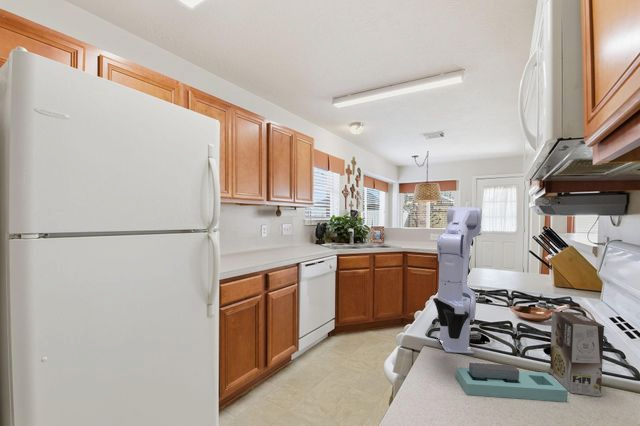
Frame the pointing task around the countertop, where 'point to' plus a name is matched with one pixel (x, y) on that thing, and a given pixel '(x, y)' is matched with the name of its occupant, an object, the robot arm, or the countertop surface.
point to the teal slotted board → (514, 386)
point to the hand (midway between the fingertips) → (448, 331)
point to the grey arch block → (494, 372)
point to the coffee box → (577, 352)
